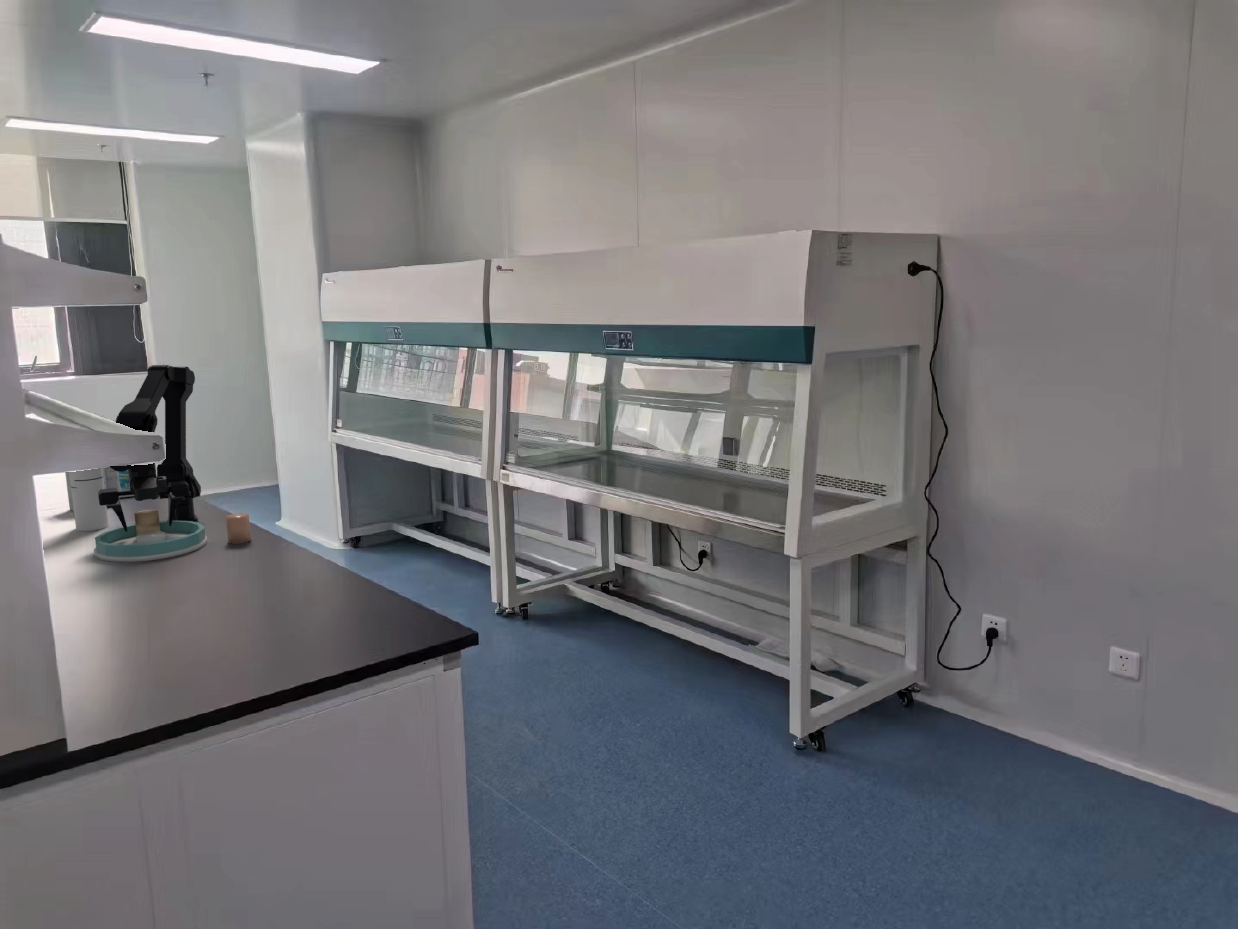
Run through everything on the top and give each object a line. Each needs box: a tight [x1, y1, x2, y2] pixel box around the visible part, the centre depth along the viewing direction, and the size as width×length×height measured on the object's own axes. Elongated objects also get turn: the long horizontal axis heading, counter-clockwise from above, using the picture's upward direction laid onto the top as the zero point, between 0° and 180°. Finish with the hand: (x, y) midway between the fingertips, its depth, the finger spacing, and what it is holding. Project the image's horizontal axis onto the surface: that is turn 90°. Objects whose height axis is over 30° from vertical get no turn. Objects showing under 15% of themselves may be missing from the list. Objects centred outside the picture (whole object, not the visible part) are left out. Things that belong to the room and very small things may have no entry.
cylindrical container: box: [69, 468, 110, 532], centre depth 224 cm, size 7×7×25 cm
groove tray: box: [93, 520, 208, 563], centre depth 207 cm, size 23×23×4 cm
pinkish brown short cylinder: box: [225, 512, 252, 545], centre depth 212 cm, size 5×5×6 cm
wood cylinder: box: [133, 509, 160, 535], centre depth 212 cm, size 5×5×6 cm
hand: (148, 528), depth 212 cm, fingers open, 9 cm apart
